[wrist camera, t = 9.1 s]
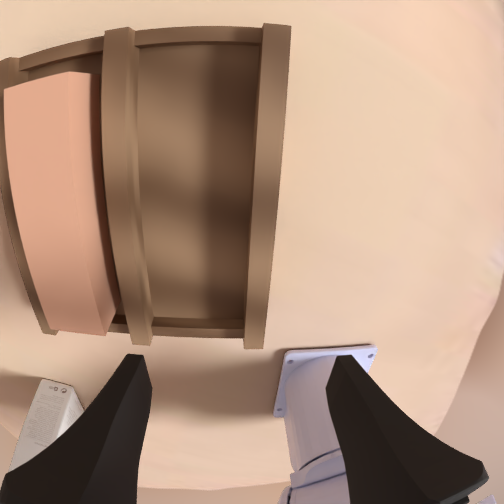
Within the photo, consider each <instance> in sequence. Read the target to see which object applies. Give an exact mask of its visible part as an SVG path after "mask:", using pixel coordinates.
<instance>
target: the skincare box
mask: <svg viewBox="0 0 504 504" xmlns="http://www.w3.org/2000/svg"><path fill="white" fill-rule="evenodd" d="M83 412H84V410H83V408H82V406H81V404H80V401H79V399H78V397H77V395H76V393H75V391H74V388H73V387H71V386H69V385H66V384H62V383H59V382H55V381H51V380H47V379H42V380H41V382H40V384H39V386H38V389H37V391H36V393H35V396H34V398H33V401H32V403H31V406H30V409H29V411H28V414H27V416H26V419H25V422H24V425H23V427H22V430H21V433H20V436H19V439H18V442H17V445H16V448H15V452H14V455H13V458H12V461H11V464H10V468H9V471H8V472H10V471H12V470H14V469H15V468H17V467H19V466H20V465H22V464H24V463H26V462H27V461H29V460H30V459H32V458H33V457H34V456H36V455H37V454H39V453H40V452H41V451H43V450H44V449H45V448H47V447H48V446H49V445H50V444H52V443H53V442H54V441H55V440H56V439H57V438H58V437H60V436H61V435H62V434H63V433H64V432H65V431H66V430H67V429H68V428H69V427H70V426H71V425H72V424H73V423H74V422H75V421H76V420H77V419H78V418H79V417H80V416H81V415H82V413H83Z"/></svg>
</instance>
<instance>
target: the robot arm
mask: <svg viewBox="0 0 504 504" xmlns="http://www.w3.org/2000/svg"><path fill="white" fill-rule="evenodd" d="M377 351H378V349H377V347H376V345H366V346H355V347H342V348H327V349H308V350H289V351H287V352H286V353H285V355H284V360H283V365H282V370H281V375H280V381H279V386H278V391H277V396H276V401H275V406H274V410H273V416H274V417H284V422H285V428H286V434H287V441H288V447H289V454H290V460H291V464H292V467H293V470H294V471H295V473H291V474H290V479H291V485H290V486H287V487H286V488H285V489H284V490H283V492H282V494H281V496H280V498H279V501H278V504H467V503H469V498H468V495H469V494H470V493H472V492H473V491H475V490H476V489H478V488H479V487H481V486H482V485H483V484H485V483H486V482H487V481H488V479H489V476H488V474H487V472H486V470H485V468H484V465H483V463H482V461H480V460H477V459H475V458H472V457H470V456H468V455H465V454H463V453H461V452H459V451H457V450H455V449H454V448H452V447H450V446H448V445H447V444H445V443H443V442H442V441H440V440H439V439H437V438H436V437H434V436H433V435H431V434H430V433H428V432H427V431H426V430H424V429H423V428H422V427H420V426H419V425H418V424H417V423H415V422H414V421H413V420H412V419H411V418H409V417H408V416H407V415H406V414H405V413H404V412H403V411H402V410H401V409H400V408H399V407H398V406H397V405H396V404H395V403H394V402H393V401H392V400H391V399H390V398H389V397H388V396H387V395H386V394H385V393H384V392H383V391H382V389H381V388H380V387H379V386H378V385H377V384H376V383H375V382H374V380H373V379H372V378H371V377H370V376H369V375H368V371H369V369H370V367H371V365H372V362H373V360H374V358H375V355H376V353H377ZM289 360H290V361H289ZM151 396H152V386H151V382H150V378H149V375H148V371H147V367H146V363H145V359H144V355H136V354H127V355H126V356H125V358H124V359H123V361H122V362H121V364H120V365H119V367H118V368H117V369H116V371H115V372H114V374H113V375H112V377H111V378H110V379H109V381H108V382H107V383H106V385H105V386H104V387H103V389H102V390H101V391H100V393H99V394H98V395H97V397H96V398H95V399H94V400H93V402H92V403H91V404H90V405H89V406H88V408H87V409H86V410H85V411H84V412H83V413H82V415H81V416H80V417H79V418H78V419H77V420H76V421H75V422H74V423H73V424H72V425H71V426H70V427H69V428H68V429H67V430H66V431H65V432H64V433H63V434H62V435H61V436H60V437H58V438H57V439H56V440H55V441H54V442H53V443H52V444H50V445H49V446H48V447H47V448H45V449H44V450H43V451H41V452H40V453H39V454H37V455H36V456H34V457H33V458H32V459H30V460H29V461H27V462H26V463H24V464H22V465H20V466H19V467H17V468H15V469H14V470H12V471H10V472H8V473H7V474H6V475H5V477H4V480H3V483H2V487H1V490H0V504H136V502H137V500H136V499H137V480H138V467H139V460H140V455H141V450H142V446H143V441H144V436H145V432H146V427H147V423H148V418H149V413H150V406H151ZM476 504H497V503H496V501H495V498H494V496H493V495H490V496H488V497H486V498H485V499H483V500H481V501H480V502H478V503H476Z"/></svg>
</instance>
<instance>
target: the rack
mask: <svg viewBox="0 0 504 504" xmlns="http://www.w3.org/2000/svg"><path fill="white" fill-rule="evenodd" d="M290 40H291V26H288V25H279V24H268V23H264V24H263V27H262V28H255V27H234V26H192V27H172V28H159V29H148V30H139V31H134V30H133V29H131V28H130V27H125V28H119V29H113V30H107V31H105V35H104V36H100V37H95V38H90V39H85V40H81V41H76V42H72V43H68V44H64V45H60V46H56V47H53V48H49V49H46V50H42V51H39V52H36V53H33V54H30V55H27V56H24V57H21V58H12V57H9V58H7V59H4V60H1V61H0V186H1V192H2V198H3V203H4V209H5V214H6V218H7V223H8V227H9V232H10V236H11V240H12V244H13V248H14V251H15V255H16V258H17V262H18V265H19V269H20V272H21V275H22V278H23V281H24V284H25V287H26V290H27V293H28V296H29V299H30V302H31V304H32V307H33V310H34V312H35V315H36V317H37V320H38V322H39V325H40V327H41V330H42V332H43V333H45V334H51V335H56V334H57V332H58V331H59V330H53V329H50V327H49V325H48V322H47V319H46V317H45V314H44V311H43V309H42V306H41V303H40V300H39V298H38V295H37V292H36V289H35V286H34V283H33V279H32V276H31V273H30V270H29V266H28V263H27V259H26V256H25V252H24V248H23V244H22V240H21V236H20V232H19V227H18V223H17V218H16V213H15V208H14V203H13V197H12V191H11V185H10V178H9V170H8V162H7V153H6V141H5V125H4V89H6V88H10V87H13V86H16V85H19V84H22V83H26V82H29V81H33V80H36V79H40V78H44V77H47V76H51V75H56V74H60V73H64V72H80V73H89V74H98V75H100V87H99V121H100V149H101V165H102V178H103V189H104V199H105V208H106V216H107V224H108V231H109V238H110V245H111V251H112V257H113V263H114V269H115V274H116V279H117V284H118V289H119V294H120V299H121V301H120V304H119V306H118V308H117V310H116V313H115V315H114V317H113V319H112V322H111V324H110V326H109V329H108V331H107V332H117V333H128V334H130V337H131V340H132V344H135V345H148V346H150V344H151V340H152V336H153V335H156V336H174V337H198V338H243V342H244V349H263V344H264V336H265V327H266V318H267V309H268V299H269V290H270V280H271V271H272V261H273V251H274V241H275V230H276V220H277V209H278V198H279V187H280V175H281V164H282V152H283V139H284V127H285V114H286V100H287V86H288V72H289V56H290Z"/></svg>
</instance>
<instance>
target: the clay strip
mask: <svg viewBox="0 0 504 504" xmlns="http://www.w3.org/2000/svg"><path fill="white" fill-rule="evenodd" d="M99 87H100V75H98V74H89V73H80V72H64V73H60V74H56V75H51V76H47V77H44V78H40V79H36V80H33V81H29V82H26V83H22V84H19V85H16V86H13V87H10V88H6V89H4V125H5V141H6V153H7V162H8V170H9V178H10V185H11V191H12V197H13V203H14V208H15V213H16V218H17V223H18V227H19V232H20V236H21V240H22V244H23V248H24V252H25V256H26V259H27V263H28V266H29V270H30V273H31V276H32V279H33V283H34V286H35V289H36V292H37V295H38V298H39V300H40V303H41V306H42V309H43V311H44V314H45V317H46V319H47V322H48V325H49V327H50V329H53V330H60V331H67V332H75V333H83V334H92V335H101V336H106V333H107V331H108V329H109V326H110V324H111V322H112V319H113V317H114V315H115V313H116V310H117V308H118V306H119V304H120V301H121V299H120V294H119V289H118V284H117V279H116V274H115V269H114V263H113V257H112V251H111V245H110V238H109V231H108V224H107V216H106V208H105V199H104V189H103V178H102V165H101V149H100V121H99Z"/></svg>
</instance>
